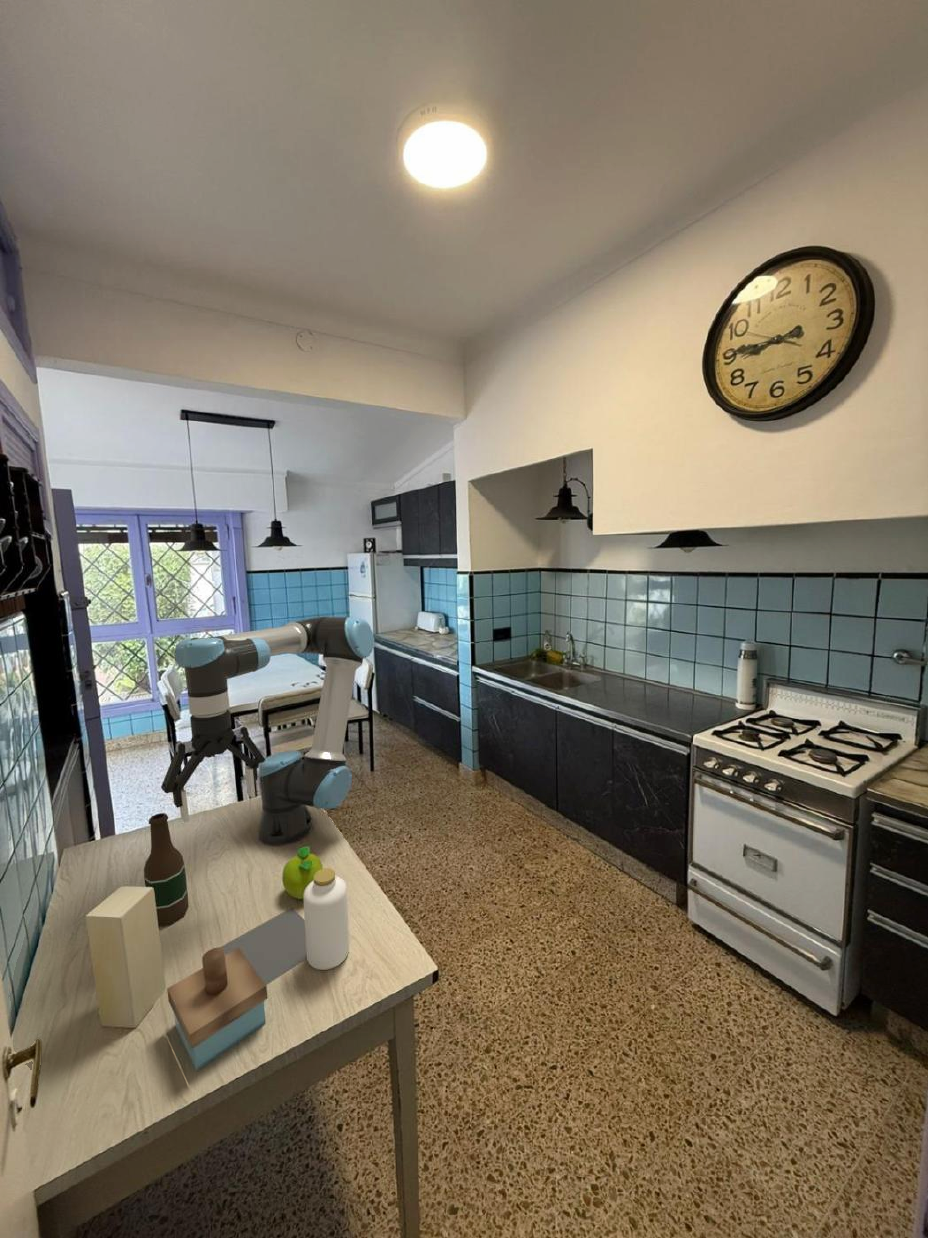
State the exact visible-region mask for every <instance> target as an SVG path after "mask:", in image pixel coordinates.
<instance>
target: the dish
mask: <svg viewBox="0 0 928 1238" xmlns="http://www.w3.org/2000/svg"><path fill="white" fill-rule="evenodd" d="M265 1012H266V1011H265V1001H263V1002H262V1003H260V1004H259V1005H257V1006H256V1007H254V1008H253V1009H251V1010H250V1011H248V1012H247V1013H245V1014H244V1015H242V1016H241V1017H239V1018H238V1019H236V1020H235V1021H233V1022H232V1023H230V1024H229V1025H227V1026H226V1027H224V1028H223V1029H221V1030H220V1031H218V1032H217V1033H215V1034H214V1035H212V1036H211V1037H209V1038H208V1039H206V1040H205V1041H203V1042H202V1043H200V1044H199V1045H197V1046H196V1047H194V1048H193V1049H191V1047H190V1045H189V1043H188V1041H187V1039H186V1037H185V1034H184V1032H183V1030H182V1028H181V1026H180V1024H179V1022H178V1020H177V1018H176V1016H175V1014H174V1013H173V1016H174V1024H175V1028H176V1030H177V1032H178V1034H179V1036H180V1038H181V1041H182V1042H183V1046H184V1047H185V1049H186V1051H187V1053H188V1055H189V1058H190V1060H191V1062H192V1064H193V1066H194V1069H195V1070H196V1072H199V1070H201V1069H202V1068H204V1067H206V1066H207V1065H208V1064H209V1063H211V1062H212V1061H214V1060H215V1059H217V1058H219V1056H221V1055H223V1054H224V1053H225V1052H227V1051H228V1050H230V1049H232V1047H234V1046H235V1045H237V1044H238V1043H239V1042H241V1041H242V1040H244V1039H245V1038H246V1037H248V1036H250V1035H251V1034H252V1033H254V1032H255V1031H256V1030H258V1029H259V1028H261V1027H262V1026H264V1025H265V1024H266V1022H267V1021H266V1013H265Z"/></svg>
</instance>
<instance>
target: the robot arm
mask: <svg viewBox="0 0 928 1238" xmlns="http://www.w3.org/2000/svg"><path fill="white" fill-rule="evenodd" d="M374 636H375V635H374V633H373V630H372V627H371V625H370V624H369V622H367V621H366V620H365V619H363V618H359V617H352V616H345V617H344V616H342V617H341V616H339V617H337V616H336V617H335V616H334V617H332V616H317V617H312V618H306V619H301V620H297V621H290V622H287V623H286V624H284V626H281V627H279V626H278V627H274V628H266V629H258V630H252V631H251V630H250V631H245V632H237V633H229V634H223V635H218V636H207V637H196V636H195V637H186V638H184V639H182V640H180V641H179V642H178V643H177V644H176V646H175V648H174V651H173V652H174V653H173V654H174V655H173V657H174V658H173V659H174V661H175V663H176V664H177V665H178V666H179V667H180V668H182V669H184V673H185V674H184V675H185V681H186V691H187V699H188V710H189V714H190V715H191V716H190V717H189V719H190V720H189V721H190V729H191V739H190V740H188V741H180V740H177V741H176V742H175V744H174V754H173V756H172V759H171V761H170V764H169V767H168V768H167V771H166V774H165V777H164V778H163V780H162V783H161V787H160V788H161V790H162V791H163V792H164V793H165V794H170V793H172V798H173V804H174V805H175V807H176V808H177V809H178V808H179V810H180V811H179V812H180V818H181V819H182V821H183V822H184V823H188V822H190V817H189V816H190V815H189V814H190V813H189V808H188V807H189V806H188V798H187V791H186V789H185V788H184V787H185V786H186V785H187V783H188V781H189V780H190V778H191V777H192V776H193V774H194V772H195V771H196V769H197V768H198V767H199V766H200V765H199V764H200V763H202V762H203V760H204V759H205V758H208V759H210V758H212V757H214V756H216V755H223V754H224V753H225V752H226V751H227V750H228V751H229V752H230V753H232V754H233V755H235V756H236V757H237V758H238V759H240V760H241V761H243V762H244V763H246V766H244V776H245V786H246V795H248V796H249V797H250V798H256V788H255V782H256V781H257V780H258V779H259V787H260V789H259V790H260V797H261V805H262V812H261V816H260V819H259V822H258V827H257V837H258V840H259V842H261V843H262V844H264V845H268V846H283V845H288V844H292V843H295V842H297V841H300V840H302V839H304V838H306V837H307V835H308V834H310V832H311V831H312V830H313V826H314V825H313V823H314V822H313V817H312V814H311V812H310V810H309V807H313V808H316V809H324V810H332V809H335V808H337V807H338V806H340V805H341V804H342V803H343V801H344V800H345V799H346V797H347V795H348V793H349V792H350V789H351V787H352V786H351V785H352V782H353V781H352V779H353V775H352V772H351V770H350V768H348V766H346V764H347V758H346V756H345V755H344V754H343V748H344V744H345V737H346V732H347V725H348V721H349V715H350V714H349V713H350V708H351V707H350V706H351V701H352V695H353V690H354V684H355V677H356V671H357V670H358V669H359V668H360V667H362V666H363V662H364V661H363V660H364V659H366V658H367V657H370V655H371V653H372V652H373V650H374V647H375V645H374V643H375V639H374V638H375V637H374ZM283 654H290V655H298V654H299V655H300V654H310V655H311V654H312V655H322V657H321V658H322V661H323V662H324V664H325V665H326V668H325V672H324V679H323V684H322V689H321V695H320V700H319V706H318V710H317V711H318V712H317V717H316V723H315V727H314V733H313V737H312V744H311V748H310V750H309V751H307V752H306V753H305V754H304V756H303V755H302V753H301V752H300V751H299V750H295V749H294V750H285V751H281V752H277V753H274V754H271V755H269V756H267V757H265V756H264V755H263V754H262V753H261V751H260V749H259V748H258V747H257V746H256V743H254V741H253V740H252V738H251V737H250V736H249V731H248V727H246V726H244V725H243V724H239V725H238V726H237V727H236V728H234V729H232V719H231V711H230V710H229V709H230V708H231V707H230V697H229V691H228V689H229V688H228V687H229V686H228V680H230V679H232V678H236V677H240V676H242V675H243V676H244V675H247V674H250V673H254V672H256V671H257V672H258V671H259V670H261V669H264V668H266V666H268V664H269V663H270V660H271V658H272V656H278V655H283ZM235 736H236V737H237V738H239V739H240V740H241V741H242V742H243V743H244V745H245V746H246V748H247V749H248V750H249V752H250V753H251V755H252V756H253V758H251V757H249V756H248V755H247V754H245V753H244V752H242V751H241V750H240V749H238V748H237V747H236V746H234V745H233V744H231V743H232V740H233V739H234V737H235ZM190 748H192V749H194V751H193V752H192V753H191V754H190V758H189V759H188V761H187V763H186V764H185V766H184V767H183V768H182V769H181V767H182V765H183V762H184V760H185V757H186V753H188V752H189V749H190ZM302 758H303V759H302ZM180 769H181V771H180ZM258 770H259V771H258ZM179 772H180V773H179ZM258 772H259V775H258ZM308 806H309V807H308Z"/></svg>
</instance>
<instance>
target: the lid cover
mask: <svg viewBox="0 0 928 1238" xmlns="http://www.w3.org/2000/svg"><path fill="white" fill-rule="evenodd" d="M220 947H221V946H220ZM220 947H213V948H211V949H209V950H208V951H206V952H205V953H204V954H203V955H202V958H201V963H202V968H200V969H198V970H197V971H195V972H193V973H191V974H190V975H187V976H186V977H185V978H183V979H181V980H179V981H177V982H176V983H174V984H172V985H171V986H169V987H167V988H166V990H167V991H166V992H167V1001H168V1003H169V1005H170V1007H171V1009H172V1011H173V1015H174V1014H175V1016H176V1018H177V1020H178V1022H179V1024H180V1026H181V1028H182V1030H183V1032H184V1034H185V1037H186V1039H187V1041H188V1043H189V1045H190V1047H191V1049H193V1048H194V1047H196V1046H197V1045H199V1044H200V1043H202V1042H203V1041H205V1040H206V1039H208V1038H209V1037H211V1036H212V1035H214V1034H215V1033H217V1032H218V1031H220V1030H221V1029H223V1028H224V1027H226V1026H227V1025H229V1024H230V1023H232V1022H233V1021H235V1020H236V1019H238V1018H239V1017H241V1016H242V1015H244V1014H245V1013H247V1012H248V1011H250V1010H251V1009H253V1008H254V1007H256V1006H257V1005H259V1004H260V1003H262V1002H263V1001H264V1002H265V1001H266V1000H268V986H267V985H266V984H265V983H264V981H263V980H262V979H261V977H260V976H259V975H258V973H257V972H256V970H255V969H254V968H253V966H252V965H251V964H250V962H249V961H248V959H247V958H246V957H245V955H244V954H243V953H242V951H241V950H240V949H239V948H237V949H235V950H234V951H232V952H230V953H228V954H227V955H225V951H224V949H223V948H220Z"/></svg>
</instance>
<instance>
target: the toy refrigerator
mask: <svg viewBox="0 0 928 1238" xmlns="http://www.w3.org/2000/svg"><path fill="white" fill-rule="evenodd" d="M85 923H86V930H87V933H88V935H87V936H88V942H89V944H88V945H89V950H90V956H91V964H92V970H93V977H94V983H95V991H96V999H97V1005H98V1014H99V1020H100V1021H99V1022H100V1024H101V1026H103V1027H110V1028H111V1027H116V1028H125V1029H126V1028H129V1029H130V1028H132V1029H134V1028H136V1027H138V1026H139V1024H140V1023H141V1022H142V1020H144V1018H145V1017H146V1016H147V1014H148V1013H149V1012H150V1011H151V1009H152V1008H153V1007H154V1005H155V1004H156V1003H157V1001H158V1000H159V999H160V997H161V996H162V995H163V993H164V992H165V991H166V990H167V988H166V979H165V978H166V977H165V969H164V962H163V953H162V945H161V938H160V929H159V927H158V920H157V911H156V903H155V894H154V889H153V888H152V887H145V886H128V885H127V886H126V885H125V886H123V885H122V886H119V887H118V888H117V889H115V891H114V892H112V893H111V894H110V895H109V896H107V897H106V898H105V899H104V900H103V901H102V902H101V903H99V904H98V905H97V906H96V907H94V908H93V909H92V910H91V911H90V912H88V913H87V914H86V916H85Z"/></svg>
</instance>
